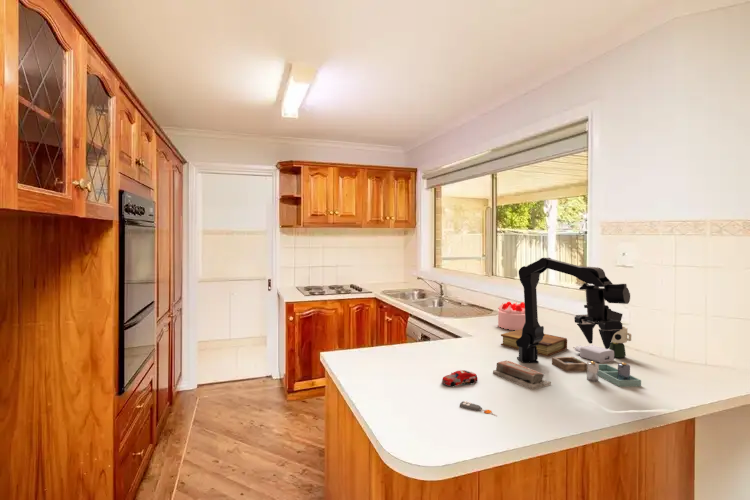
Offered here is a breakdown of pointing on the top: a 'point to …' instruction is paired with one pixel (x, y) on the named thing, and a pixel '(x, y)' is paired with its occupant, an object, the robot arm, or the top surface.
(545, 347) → the diary
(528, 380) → the packaged product
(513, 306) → the cake
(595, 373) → the steel cell
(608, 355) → the charger
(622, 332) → the mug head figurine
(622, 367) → the dark cell
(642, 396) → the top surface
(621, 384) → the trough tray
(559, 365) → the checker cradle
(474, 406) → the key chain
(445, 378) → the race car
